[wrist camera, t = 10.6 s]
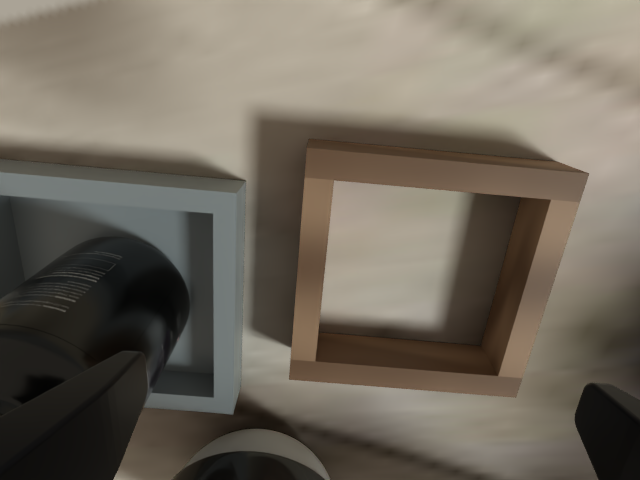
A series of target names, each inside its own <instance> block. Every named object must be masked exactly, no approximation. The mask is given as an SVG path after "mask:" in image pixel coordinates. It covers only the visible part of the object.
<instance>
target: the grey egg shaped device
mask: <svg viewBox="0 0 640 480" xmlns="http://www.w3.org/2000/svg"><path fill="white" fill-rule="evenodd" d="M172 480H330V477H329V475H328V473H327V471H326V470H325V468H324V466H323V465H322V463H321V462H320V460H319V459H318V458H317V457H316V456H315V455H314V453H313V452H312V451H311V450H309V449H308V448H307V447H306V446H305V445H303V444H302V443H301V442H299V441H298V440H296V439H294V438H292V437H290V436H288V435H286V434H283V433H280V432H277V431H272V430H266V429H245V430H239V431H235V432H232V433H228V434H226V435H223V436H221V437H219V438H217V439H215V440H213V441H212V442H210V443H209V444H207V445H206V446H204V447H203V448H202V449H201V450H200V451H198V452H197V453H196V454H195V455H194V456H193V457H192V458H191V459H190V461H189V462H188V463H187V464H186V465H185V467H184V468H183V469H182V470H181V471H180V472H179V473H178V474H177V475H176V476H175V477H174V478H173V479H172Z"/></svg>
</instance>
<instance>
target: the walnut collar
mask: <svg viewBox="0 0 640 480" xmlns="http://www.w3.org/2000/svg"><path fill="white" fill-rule="evenodd" d="M588 176H589V173H586V172H583V171H581V170H578V169H575V168H573V167H570V166H568V165H565V164H562V163H560V162H556V161H545V160H534V159H523V158H512V157H501V156H490V155H479V154H469V153H458V152H447V151H436V150H425V149H414V148H403V147H392V146H381V145H371V144H360V143H349V142H338V141H327V140H316V139H309V141H308V145H307V152H306V165H305V178H304V191H303V204H302V217H301V230H300V243H299V257H298V270H297V283H296V296H295V309H294V322H293V335H292V348H291V361H290V375H289V379H290V380H302V381H315V382H327V383H340V384H352V385H365V386H377V387H390V388H402V389H415V390H428V391H440V392H453V393H465V394H478V395H490V396H503V397H515V398H516V396H517V393H518V390H519V387H520V384H521V381H522V378H523V375H524V372H525V369H526V366H527V363H528V360H529V356H530V353H531V350H532V347H533V344H534V341H535V338H536V335H537V332H538V329H539V326H540V323H541V320H542V317H543V314H544V311H545V307H546V304H547V301H548V298H549V295H550V292H551V289H552V286H553V283H554V280H555V277H556V274H557V271H558V268H559V265H560V261H561V258H562V255H563V252H564V249H565V246H566V243H567V240H568V237H569V234H570V231H571V228H572V225H573V222H574V219H575V216H576V212H577V209H578V206H579V203H580V200H581V197H582V194H583V191H584V188H585V185H586V182H587V179H588ZM334 180H337V181H349V182H360V183H371V184H382V185H393V186H404V187H415V188H426V189H438V190H449V191H460V192H471V193H482V194H493V195H504V196H515V197H521V200H520V204H519V207H518V211H517V215H516V218H515V222H514V226H513V229H512V233H511V237H510V240H509V244H508V248H507V251H506V255H505V259H504V262H503V266H502V270H501V273H500V277H499V281H498V284H497V288H496V292H495V295H494V299H493V303H492V306H491V310H490V314H489V317H488V321H487V325H486V328H485V332H484V336H483V340H482V343H481V346H478V345H466V344H454V343H442V342H429V341H417V340H405V339H393V338H381V337H369V336H356V335H344V334H332V333H320V332H318V330H319V320H320V311H321V301H322V291H323V281H324V272H325V262H326V252H327V242H328V233H329V223H330V213H331V203H332V194H333V184H334Z"/></svg>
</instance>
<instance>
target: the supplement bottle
mask: <svg viewBox="0 0 640 480" xmlns="http://www.w3.org/2000/svg"><path fill="white" fill-rule="evenodd" d="M189 311H190V298H189V293H188V289H187V286H186V283H185V281H184V279H183V277H182V275H181V274H180V272H179V271H178V269H177V268H176V267H175V265H174V264H173V263H172V262H171V261H170V260H169V259H168V258H167V257H166V256H164V255H163V254H162V253H160V252H159V251H158V250H156V249H154V248H153V247H151V246H149V245H147V244H145V243H142V242H140V241H137V240H133V239H129V238H125V237H116V236H107V237H99V238H94V239H90V240H87V241H84V242H82V243H80V244H78V245H76V246H74V247H73V248H71V249H70V250H68V251H67V252H65V253H64V254H62V255H61V256H59V257H58V258H57V259H55V260H54V261H52V262H51V263H50V264H48V265H47V266H45V267H44V268H43V269H41V270H40V271H39V272H37V273H36V274H34V275H33V276H32V277H30V278H29V279H28V280H26V281H25V282H23V283H22V284H21V285H19V286H18V287H17V288H15V289H14V290H12V291H11V292H10V293H8V294H7V295H6V296H4V297H3V298H1V299H0V416H2V415H4V414H6V413H8V412H10V411H12V410H13V409H15V408H17V407H19V406H21V405H23V404H25V403H26V402H28V401H30V400H32V399H34V398H36V397H38V396H39V395H41V394H43V393H45V392H47V391H49V390H51V389H52V388H54V387H56V386H58V385H60V384H62V383H64V382H65V381H67V380H69V379H71V378H73V377H75V376H77V375H78V374H80V373H82V372H84V371H86V370H88V369H90V368H91V367H93V366H95V365H97V364H99V363H101V362H103V361H104V360H106V359H108V358H110V357H112V356H114V355H116V354H117V353H119V352H121V351H137V352H142V353H143V354H144V355H145V359H146V368H147V379H148V391H147V396H146V399H145V402H144V404H143V407H142V409H143V408H144V406H145V404H146V402H147V400H148V398H149V396H150V394H151V392H152V390H153V388H154V386H155V385H156V383H157V381H158V379H159V377H160V375H161V373H162V371H163V369H164V367H165V365H166V363H167V362H168V360H169V358H170V356H171V354H172V352H173V350H174V348H175V346H176V344H177V342H178V340H179V338H180V336H181V334H182V332H183V330H184V328H185V326H186V323H187V320H188V317H189ZM142 409H141V411H142ZM140 413H141V412H140Z"/></svg>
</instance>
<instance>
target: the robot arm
mask: <svg viewBox="0 0 640 480" xmlns="http://www.w3.org/2000/svg"><path fill="white" fill-rule="evenodd" d="M147 391H148V379H147V368H146V359H145V355H144V354H143V353H142V352H137V351H121V352H119V353H117V354H116V355H114V356H112V357H110V358H108V359H106V360H104V361H103V362H101V363H99V364H97V365H95V366H93V367H91V368H90V369H88V370H86V371H84V372H82V373H80V374H78V375H77V376H75V377H73V378H71V379H69V380H67V381H65V382H64V383H62V384H60V385H58V386H56V387H54V388H52V389H51V390H49V391H47V392H45V393H43V394H41V395H39V396H38V397H36V398H34V399H32V400H30V401H28V402H26V403H25V404H23V405H21V406H19V407H17V408H15V409H13V410H12V411H10V412H8V413H6V414H4V415H2V416H0V480H113V479H114V477H115V475H116V473H117V471H118V468H119V466H120V463H121V461H122V459H123V456H124V454H125V451H126V448H127V446H128V443H129V441H130V438H131V435H132V433H133V430H134V428H135V425H136V422H137V420H138V417H139V415H140V412H141V409H142V407H143V404H144V402H145V399H146V396H147ZM575 424H576V428H577V430H578V433H579V435H580V437H581V440H582V442H583V444H584V447H585V449H586V451H587V454H588V456H589V458H590V461H591V463H592V465H593V468H594V470H595V472H596V475H597V477H598V479H599V480H640V400H638V399H637V398H635V397H633V396H631V395H629V394H628V393H626V392H624V391H622V390H620V389H619V388H617V387H615V386H613V385H611V384H605V383H588V384H587V385H586V386H585V387H584V390H583V392H582V395H581V398H580V401H579V404H578V407H577V410H576V413H575Z"/></svg>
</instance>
